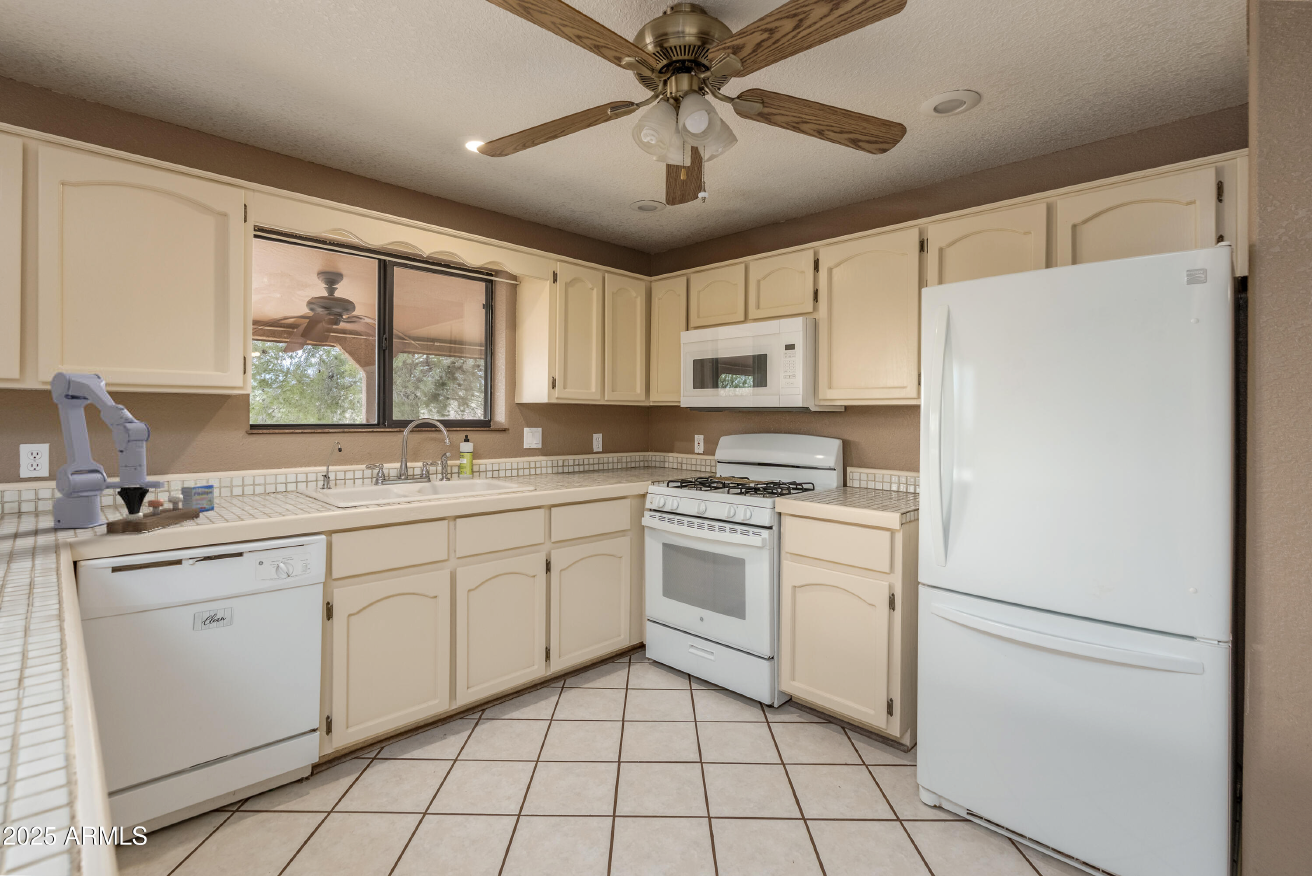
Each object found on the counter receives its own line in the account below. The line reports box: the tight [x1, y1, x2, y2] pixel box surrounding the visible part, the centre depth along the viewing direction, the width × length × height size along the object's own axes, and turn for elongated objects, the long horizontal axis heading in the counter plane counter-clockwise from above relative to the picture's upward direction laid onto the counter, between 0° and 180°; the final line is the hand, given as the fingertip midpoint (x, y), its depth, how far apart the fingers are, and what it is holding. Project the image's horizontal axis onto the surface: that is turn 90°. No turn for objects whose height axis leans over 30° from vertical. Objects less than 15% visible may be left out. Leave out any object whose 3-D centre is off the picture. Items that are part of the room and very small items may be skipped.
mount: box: [105, 507, 201, 534], centre depth 178 cm, size 10×24×3 cm, turn 8°
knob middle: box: [147, 498, 165, 515], centre depth 178 cm, size 4×4×4 cm
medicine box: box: [180, 483, 215, 513], centre depth 202 cm, size 8×4×9 cm, turn 168°
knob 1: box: [125, 512, 143, 521], centre depth 169 cm, size 4×4×4 cm
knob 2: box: [167, 494, 183, 510], centre depth 187 cm, size 4×4×4 cm
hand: (134, 514), depth 169 cm, fingers closed, pressing on knob 1
